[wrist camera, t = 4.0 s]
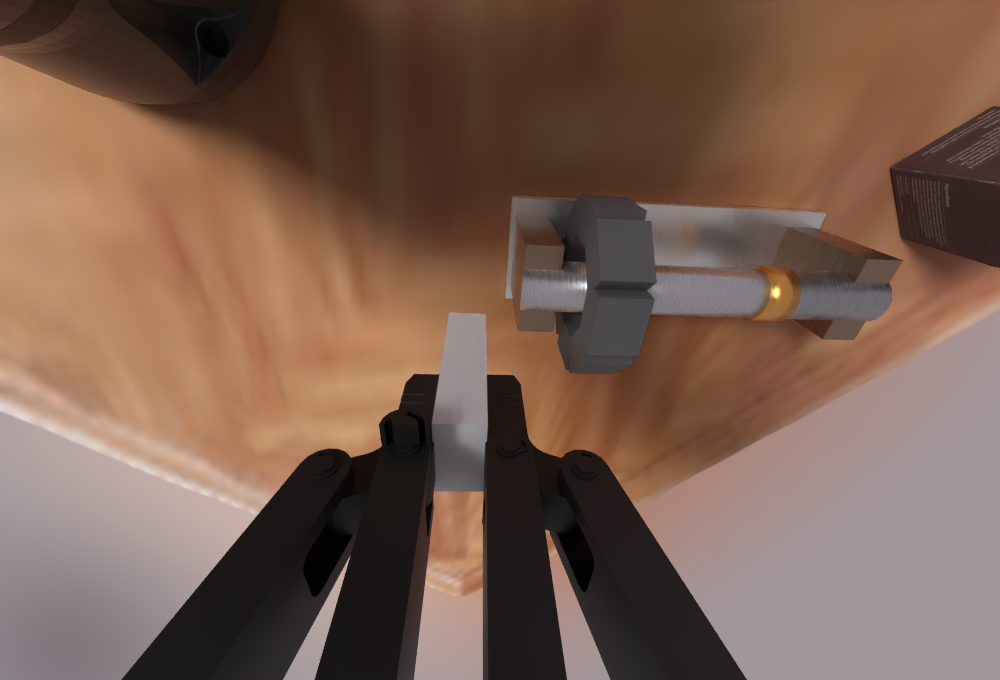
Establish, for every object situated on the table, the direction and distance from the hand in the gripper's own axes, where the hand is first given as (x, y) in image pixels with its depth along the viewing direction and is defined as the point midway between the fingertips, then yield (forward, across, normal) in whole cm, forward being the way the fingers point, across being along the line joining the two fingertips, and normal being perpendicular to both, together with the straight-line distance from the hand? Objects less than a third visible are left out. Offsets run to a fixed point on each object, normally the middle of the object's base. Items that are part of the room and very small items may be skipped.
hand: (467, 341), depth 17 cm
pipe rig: (+12, +13, 0) cm, 18 cm away
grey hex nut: (+10, +7, 0) cm, 12 cm away
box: (+13, +31, +6) cm, 34 cm away
